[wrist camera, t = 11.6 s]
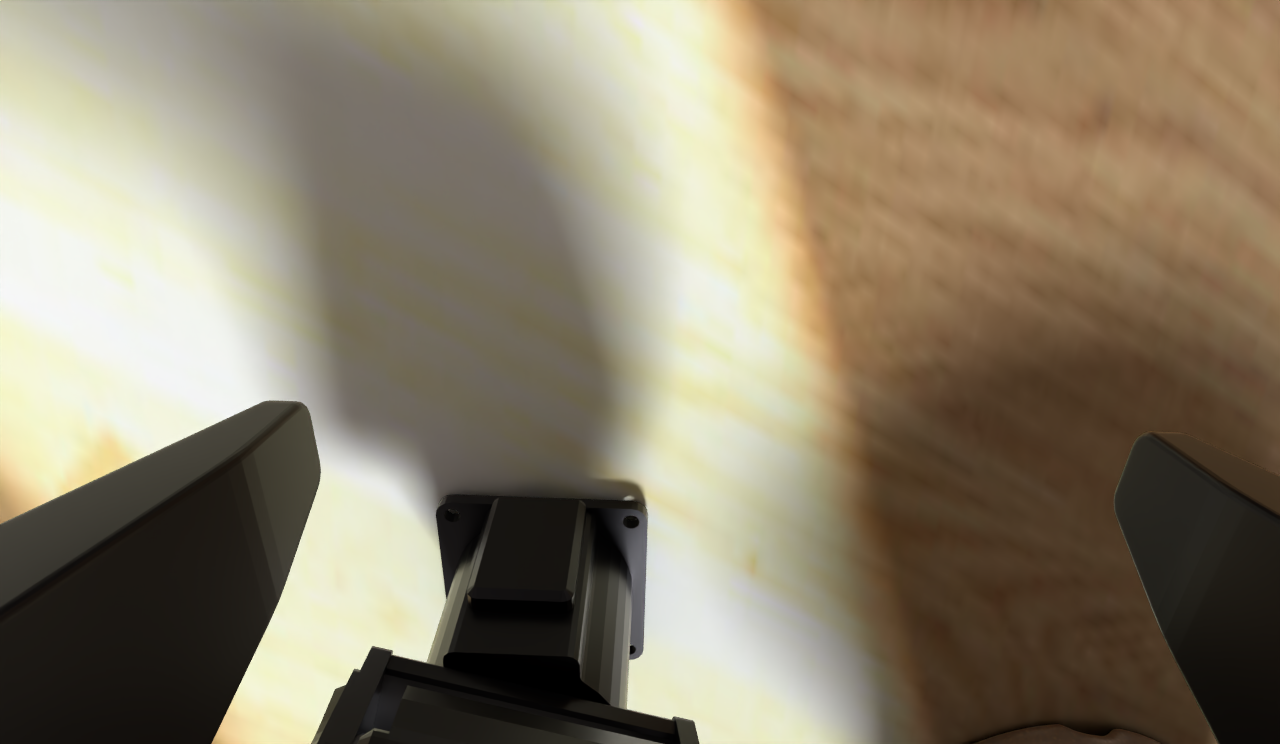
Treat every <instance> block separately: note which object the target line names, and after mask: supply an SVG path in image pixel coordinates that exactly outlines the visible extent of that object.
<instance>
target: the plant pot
mask: <svg viewBox="0 0 1280 744" xmlns="http://www.w3.org/2000/svg"><path fill="white" fill-rule="evenodd" d="M974 744H1161V743H1159V742H1157V741H1155V740H1153V739H1151V738H1148V737H1146V736H1143V735H1141V734H1138V733H1135V732H1131V731H1127V730H1123V729H1113V730H1112V731H1111V732H1110V733H1109V734H1107V735H1106V736H1097V735H1089V734H1085V733H1081V732H1078V731H1074V730H1072V729H1070V728H1068V727H1065V726H1063V725H1060V724H1054V725H1044V726H1035V727H1030V728H1025V729H1019V730H1015V731H1011V732H1007V733H1004V734H1000V735H997V736H994V737H990V738H988V739H985V740H982V741H979V742H977V743H974Z"/></svg>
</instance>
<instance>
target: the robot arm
mask: <svg viewBox="0 0 1280 744" xmlns="http://www.w3.org/2000/svg"><path fill="white" fill-rule="evenodd" d="M320 474H321V468H320V460H319V455H318V450H317V445H316V440H315V436H314V431H313V426H312V421H311V416H310V413H309V411H308V409H307V407H306V406H305V405H304V404H303V403H301V402H296V401H264V402H262V403H259V404H257V405H255V406H253V407H251V408H249V409H246V410H244V411H242V412H240V413H238V414H236V415H234V416H231V417H229V418H227V419H225V420H223V421H221V422H219V423H216V424H214V425H212V426H210V427H208V428H206V429H204V430H201V431H199V432H197V433H195V434H193V435H191V436H188V437H186V438H184V439H182V440H180V441H178V442H176V443H173V444H171V445H169V446H167V447H165V448H163V449H161V450H158V451H156V452H154V453H152V454H150V455H148V456H145V457H143V458H141V459H139V460H137V461H135V462H133V463H130V464H128V465H126V466H124V467H122V468H120V469H118V470H115V471H113V472H111V473H109V474H107V475H105V476H103V477H100V478H98V479H96V480H94V481H92V482H90V483H87V484H85V485H83V486H81V487H79V488H77V489H75V490H72V491H70V492H68V493H66V494H64V495H62V496H60V497H57V498H55V499H53V500H51V501H49V502H47V503H45V504H42V505H40V506H38V507H36V508H34V509H32V510H29V511H27V512H25V513H23V514H21V515H19V516H17V517H14V518H12V519H10V520H8V521H6V522H4V523H2V524H0V744H211V743H212V741H213V739H214V737H215V735H216V733H217V731H218V729H219V727H220V725H221V722H222V720H223V718H224V716H225V714H226V712H227V710H228V708H229V706H230V704H231V702H232V699H233V697H234V695H235V693H236V691H237V689H238V687H239V685H240V683H241V681H242V679H243V676H244V674H245V672H246V670H247V668H248V666H249V664H250V662H251V660H252V658H253V656H254V653H255V651H256V649H257V647H258V645H259V643H260V641H261V639H262V637H263V635H264V633H265V631H266V628H267V626H268V624H269V622H270V620H271V618H272V615H273V613H274V611H275V609H276V606H277V604H278V602H279V599H280V597H281V594H282V591H283V589H284V586H285V583H286V580H287V577H288V575H289V572H290V569H291V566H292V563H293V560H294V557H295V554H296V551H297V548H298V545H299V542H300V539H301V536H302V533H303V530H304V527H305V525H306V522H307V519H308V516H309V513H310V510H311V507H312V504H313V501H314V498H315V495H316V492H317V489H318V486H319V482H320ZM448 509H454V510H456V511H458V512H459V514H454V513H451V512H450V511H448ZM1114 510H1115V515H1116V518H1117V521H1118V523H1119V526H1120V528H1121V531H1122V534H1123V536H1124V539H1125V541H1126V544H1127V546H1128V549H1129V552H1130V554H1131V557H1132V559H1133V562H1134V564H1135V567H1136V570H1137V572H1138V575H1139V577H1140V580H1141V583H1142V585H1143V588H1144V590H1145V593H1146V595H1147V598H1148V601H1149V603H1150V606H1151V608H1152V611H1153V613H1154V616H1155V618H1156V621H1157V623H1158V625H1159V628H1160V630H1161V632H1162V635H1163V637H1164V639H1165V641H1166V643H1167V645H1168V647H1169V649H1170V652H1171V654H1172V656H1173V658H1174V660H1175V662H1176V664H1177V665H1178V667H1179V669H1180V671H1181V673H1182V675H1183V677H1184V679H1185V681H1186V683H1187V685H1188V687H1189V689H1190V690H1191V692H1192V694H1193V696H1194V698H1195V700H1196V702H1197V704H1198V706H1199V708H1200V710H1201V712H1202V714H1203V715H1204V717H1205V719H1206V721H1207V723H1208V725H1209V727H1210V729H1211V731H1212V733H1213V735H1214V737H1215V739H1216V740H1217V742H1218V744H1280V476H1279V475H1277V474H1275V473H1272V472H1270V471H1268V470H1266V469H1264V468H1261V467H1259V466H1257V465H1255V464H1252V463H1250V462H1248V461H1246V460H1244V459H1241V458H1239V457H1237V456H1235V455H1233V454H1230V453H1228V452H1226V451H1224V450H1221V449H1219V448H1217V447H1215V446H1213V445H1210V444H1208V443H1206V442H1204V441H1202V440H1199V439H1197V438H1195V437H1193V436H1191V435H1188V434H1185V433H1180V432H1157V431H1149V432H1145V433H1143V434H1141V435H1139V436H1138V437H1137V439H1136V440H1135V442H1134V444H1133V446H1132V448H1131V451H1130V454H1129V456H1128V459H1127V462H1126V464H1125V467H1124V469H1123V472H1122V475H1121V477H1120V480H1119V483H1118V485H1117V488H1116V491H1115V495H1114ZM631 515H632V516H636V517H637V519H636V520H628V519H626V518H625V517H627V516H631ZM436 519H437V527H438V535H439V543H440V551H441V559H442V567H443V575H444V583H445V591H446V599H447V600H446V603H445V607H444V610H443V613H442V616H441V619H440V622H439V625H438V628H437V632H436V635H435V638H434V641H433V644H432V647H431V650H430V653H429V657H428V660H427V663H426V662H422V661H417V660H413V659H409V658H404V657H400V656H396V655H392V654H393V651H392V650H388V649H383V648H379V647H375V646H372V648H371V650H370V652H369V654H368V656H367V658H366V660H365V662H364V664H363V666H362V668H361V670H358V669H354V670H353V672H352V674H351V676H350V678H349V680H348V682H347V684H346V685H345V686H342V687H340V688H337V689H335V691H334V693H333V696H332V698H331V700H330V703H329V705H328V707H327V710H326V712H325V714H324V717H323V719H322V722H321V724H320V726H319V728H318V731H317V733H316V735H315V737H314V739H313V741H312V743H311V744H699V740H698V736H697V732H696V728H695V723H694V721H692V720H688V719H683V718H679V717H673V718H672V720H671V719H667V718H662V717H658V716H654V715H649V714H645V713H641V712H637V711H632V710H628V709H627V692H628V672H629V660H631V659H636V658H638V657H639V656H640V655H641V654H642V652H643V642H644V612H645V582H646V552H647V522H648V513H647V509H646V508H645V507H644V505H642V504H640V503H639V502H635V501H619V500H591V499H564V498H536V497H508V496H480V495H447V496H445V497H444V498H442V500H441V501H440V503H439V505H438V508H437V511H436ZM630 644H631V645H630Z"/></svg>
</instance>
